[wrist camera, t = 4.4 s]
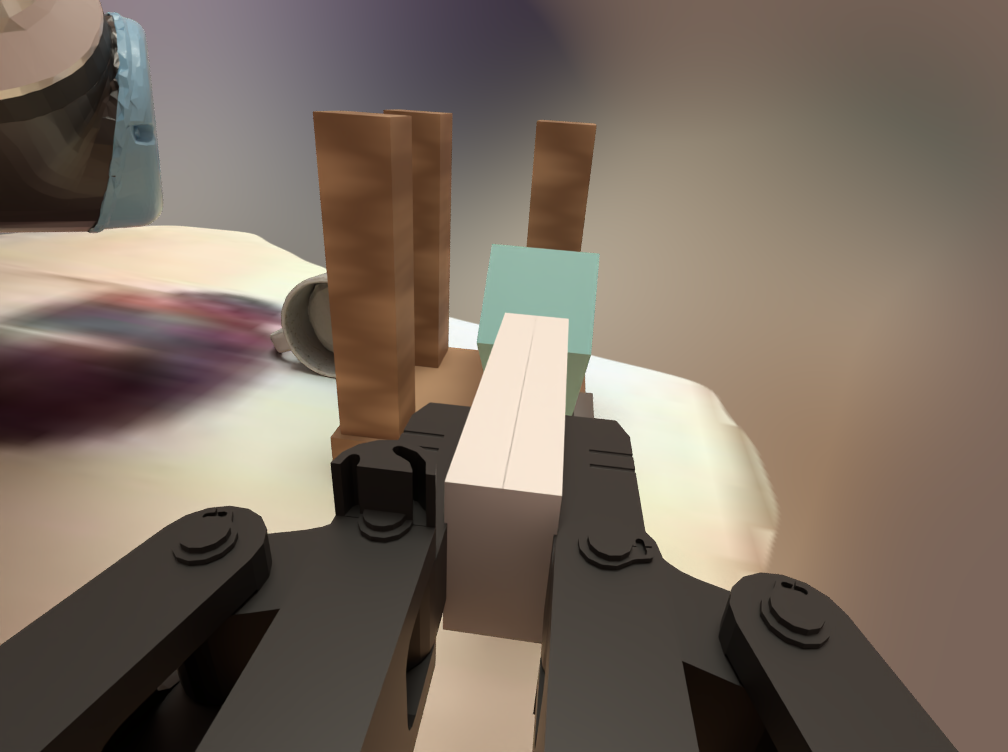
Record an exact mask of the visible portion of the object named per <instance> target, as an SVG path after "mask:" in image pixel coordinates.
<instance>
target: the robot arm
mask: <svg viewBox="0 0 1008 752" xmlns="http://www.w3.org/2000/svg"><path fill="white" fill-rule="evenodd" d="M148 58H149V57H148V49H147V41H146V34H145V32H144V30H143V28H142V27H141V26H140V25H139V23H137V22H136V21H134V20H132V19H128V18H124V17H122V16H121V15H119V14H118V13H116V12H115V13H110V12H107V13H106V14H105V15H104V13H103V10H102V7H101V3H100V1H99V0H0V232H89V233H98V232H101V231H102V230H104V229H113V228H127V227H141V226H146V225H149V224H151V223H152V222H154V221H155V220H156V219H157V218H158V217H159V216H160V214H161V212H162V209H163V193H162V181H161V170H160V160H159V151H158V141H157V131H156V121H155V112H154V103H153V95H152V84H151V75H150V66H149V59H148ZM568 327H569V319H566V318H555V317H545V316H534V315H524V314H513V313H505V315H504V317H503V320H502V323H501V326H500V328H499V331H498V334H497V337H496V340H495V342H494V345H493V348H492V351H491V354H490V356H489V359H488V362H487V365H486V368H485V370H484V373H483V376H482V379H481V381H480V384H479V387H478V390H477V393H476V395H475V398H474V401H473V404H472V407H469V406H460V405H451V404H442V403H433V402H430V403H428V404H427V405H425V406H424V407H422V408H421V409H419V410H418V411H417V412H415V413H414V414H412V416H411V418H410V419H409V421H408V423H407V425H406V427H405V429H404V432H403V433H402V434H401V436H400V438H399V440H376V441H371V442H366V443H361V444H358V445H356V446H354V447H352V448H349V449H347V450H345V451H343V452H342V453H341V454H339V455H338V456H337V457H336V458H335V459H334V460H333V461H332V462H331V472H332V482H333V492H334V502H335V512H336V516H335V517H334V519H333V521H332V522H331V524H329V525H326V526H323V527H318V528H313V529H308V530H300V531H291V532H281V533H272V534H268V533H267V528H266V526H265V524H264V522H263V519H262V517H261V516H259V515H258V514H256V513H254V512H253V511H251V510H249V509H246V508H240V507H234V506H224V507H214V508H207V509H204V510H201V511H198V512H194V513H191V514H188V515H186V516H184V517H182V518H180V519H178V520H177V521H175V522H173V523H171V524H169V525H168V526H166V527H164V528H163V529H162V530H160V531H159V532H158V533H156V534H155V535H153V536H152V537H151V538H149V539H148V540H146V541H145V542H144V543H142V544H141V545H139V546H138V547H137V548H135V549H134V550H132V551H131V552H130V553H128V554H127V555H126V556H124V557H123V558H121V559H120V560H119V561H117V562H116V563H114V564H113V565H112V566H110V567H109V568H107V569H106V570H105V571H103V572H102V573H100V574H99V575H98V576H96V577H95V578H94V579H92V580H91V581H89V582H88V583H87V584H85V585H84V586H82V587H81V588H80V589H78V590H77V591H75V592H74V593H73V594H71V595H70V596H68V597H67V598H66V599H64V600H63V601H62V602H60V603H59V604H57V605H56V606H55V607H53V608H52V609H50V610H49V611H48V612H46V613H45V614H43V615H42V616H41V617H39V618H38V619H36V620H35V621H34V622H32V623H31V624H30V625H28V626H27V627H25V628H24V629H23V630H21V631H20V632H18V633H17V634H16V635H14V636H13V637H11V638H10V639H9V640H7V641H6V642H4V643H3V644H2V645H0V752H413V750H414V746H415V742H416V738H417V735H418V731H419V727H420V723H421V719H422V715H423V711H424V707H425V703H426V699H427V695H428V691H429V687H430V683H431V679H432V675H433V671H434V667H435V658H436V636H437V632H438V628H439V624H440V621H441V617H442V613H443V629H444V630H451V631H458V632H465V633H472V634H479V635H486V636H493V637H500V638H507V639H513V640H520V641H527V642H534V643H541V644H542V647H541V658H540V666H539V674H538V681H537V689H536V697H535V704H534V712H533V714H535V725H534V738H533V752H958V751H957V749H956V748H955V747H954V746H953V744H952V743H951V742H950V741H949V739H948V738H947V737H946V736H945V734H944V733H943V732H942V731H941V730H940V728H939V727H938V726H937V725H936V723H935V722H934V721H933V720H932V718H931V717H930V716H929V715H928V714H927V712H926V711H925V710H924V709H923V708H922V706H921V705H920V704H919V702H918V701H917V700H916V699H915V698H914V696H913V695H912V694H911V693H910V691H909V690H908V689H907V688H906V687H905V685H904V684H903V683H902V682H901V680H900V679H899V678H898V677H897V676H896V674H895V673H894V672H893V670H892V669H891V668H890V667H889V666H888V664H887V663H886V662H885V661H884V660H883V658H882V657H881V656H880V654H879V653H878V652H877V651H876V650H875V648H874V647H873V646H872V645H871V644H870V642H869V641H868V640H867V638H866V637H865V636H864V635H863V634H862V633H861V631H860V630H859V629H858V627H857V626H856V625H855V624H854V622H853V621H852V620H851V619H850V618H849V616H848V615H847V614H846V613H845V612H844V611H843V610H842V609H841V608H840V607H839V606H837V605H836V604H835V603H834V602H833V601H832V600H831V599H830V598H829V597H828V596H826V595H824V594H823V593H821V592H819V591H818V590H816V589H815V588H813V587H811V586H810V585H808V584H806V583H804V582H801V581H798V580H796V579H792V578H790V577H787V576H784V575H779V574H769V573H757V574H753V575H749V576H745V577H743V578H741V579H740V580H739V581H738V582H737V583H736V584H735V585H734V586H733V587H732V589H731V592H730V591H728V590H725V589H722V588H720V587H717V586H714V585H712V584H709V583H706V582H704V581H701V580H699V579H696V578H694V577H692V576H690V575H688V574H685V573H683V572H681V571H679V570H678V569H677V568H675V567H674V566H672V565H671V564H669V563H668V562H666V561H665V560H664V559H663V558H662V555H661V553H660V551H659V548H658V546H657V544H656V542H655V541H654V540H653V539H652V538H651V537H650V536H649V535H648V534H647V533H646V531H645V527H644V521H643V515H642V509H641V503H640V496H639V490H638V484H637V478H636V473H635V466H634V460H633V458H632V455H633V454H632V448H631V442H630V437H629V435H628V434H627V433H626V432H625V431H624V429H623V428H622V427H621V426H620V425H619V424H618V422H617V421H614V420H605V419H596V418H587V417H578V416H569V415H565V405H566V379H567V353H568Z"/></svg>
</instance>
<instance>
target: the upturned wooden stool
mask: <svg viewBox="0 0 1008 752" xmlns="http://www.w3.org/2000/svg"><path fill="white" fill-rule="evenodd" d="M313 119H314V131H315V141H316V154H317V164H318V176H319V188H320V200H321V211H322V222H323V234H324V245H325V257H326V269H327V280H328V292H329V304H330V315H331V327H332V338H333V350H334V361H335V373H336V384H337V396H338V407H339V419H340V426H339V427H338V428H337V430H336V431H335V432H334V434H333V435H332V436H331V447H332V457H333V460H334V459H335V458H336V457H337V456H338V455H339V454H341V453H342V452H343V451H345V450H347V449H349V448H352V447H354V446H356V445H358V444H361V443H366V442H371V441H376V440H399V438H400V436H401V434H402V433H403V432H404V429H405V427H406V425H407V423H408V421H409V419H410V418H411V416H412V414H414V413H415V412H417V411H418V410H419V409H421V408H422V407H424V406H425V405H427V404H428V403H430V402H433V403H442V404H451V405H460V406H469V407H472V404H473V401H474V398H475V395H476V393H477V390H478V387H479V384H480V381H481V379H482V376H483V373H484V371H483V367H482V363H481V359H480V355H479V350H470V349H461V348H451V347H448V335H449V278H450V221H451V219H450V218H451V214H450V213H451V163H452V162H451V161H452V159H451V158H452V113H439V112H425V111H411V110H384V114H378V113H364V112H350V111H317V112H316V111H315V112H313ZM595 133H596V125H595V124H591V123H577V122H564V121H549V120H539V121H537V126H536V138H535V151H534V163H533V164H534V165H533V176H532V188H531V200H530V212H529V225H528V237H527V247H531V248H542V249H553V250H564V251H575V252H580V251H581V243H582V236H583V228H584V220H585V212H586V204H587V197H588V189H589V181H590V173H591V165H592V157H593V149H594V141H595ZM572 416H578V417H587V418H594V412H593V393H585V376H584V379H583V382H582V385H581V388H580V392H579V395H578V398H577V401H576V404H575V408H574V411H573V414H572Z"/></svg>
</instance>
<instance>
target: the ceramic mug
mask: <svg viewBox="0 0 1008 752" xmlns="http://www.w3.org/2000/svg"><path fill="white" fill-rule="evenodd" d="M281 325H282V328H281V329H280V330H278V331H276V332H274V333H272V334H271V335H270V338H271V340H272V342H273V344H274V346H275V348H276V350H277V351H278V352H279V353H283V352H287V351H292V352H293V354H294V355H295V356H296V357H297V359H298V360H299V361H300V362H302V363H303V364H304V365H305V366H307V367H308V368H309V369H310V370H312V371H315V372H317V373H319V374H321V375H324V376H327V377H333V378H336V373H335V361H334V350H333V338H332V327H331V315H330V304H329V292H328V280H327V273H324V274H321V275H318V276H315V277H312V278H309V279H306V280H304V281H302V282H301V283H299V284H298V285H296V286H295V287H294V288H293V289H292V290H291V291H290V293H289V294H288V295H287V297H286V299H285V302H284V304H283V307H282V311H281Z"/></svg>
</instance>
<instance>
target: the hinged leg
mask: <svg viewBox="0 0 1008 752" xmlns="http://www.w3.org/2000/svg"><path fill="white" fill-rule="evenodd" d="M599 255H600V254H596V253H586V252H575V251H564V250H553V249H542V248H531V247H519V246H508V245H497V244H492V249H491V255H490V262H489V267H488V274H487V280H486V287H485V293H484V300H483V306H482V312H481V319H480V325H479V331H478V338H477V346H478V350H479V355H480V359H481V363H482V367H483V371H484V370H485V368H486V365H487V362H488V359H489V356H490V354H491V351H492V348H493V345H494V342H495V340H496V337H497V334H498V331H499V328H500V326H501V323H502V320H503V317H504V315H505V313H513V314H524V315H534V316H545V317H555V318H566V319H569V327H568V353H567V379H566V405H565V415H569V416H572V414H573V411H574V408H575V404H576V401H577V398H578V395H579V392H580V388H581V385H582V382H583V379H584V376H585V372H586V369H587V366H588V363H589V360H590V356H591V349H592V336H593V325H594V313H595V301H596V290H597V277H598V267H599Z"/></svg>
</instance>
